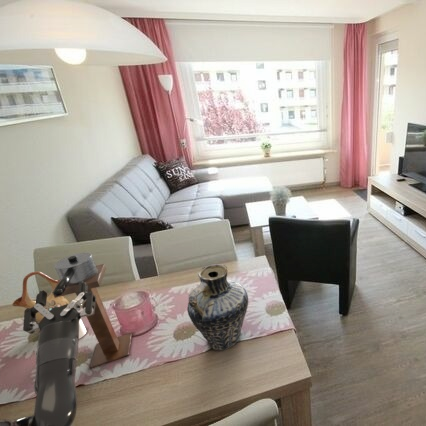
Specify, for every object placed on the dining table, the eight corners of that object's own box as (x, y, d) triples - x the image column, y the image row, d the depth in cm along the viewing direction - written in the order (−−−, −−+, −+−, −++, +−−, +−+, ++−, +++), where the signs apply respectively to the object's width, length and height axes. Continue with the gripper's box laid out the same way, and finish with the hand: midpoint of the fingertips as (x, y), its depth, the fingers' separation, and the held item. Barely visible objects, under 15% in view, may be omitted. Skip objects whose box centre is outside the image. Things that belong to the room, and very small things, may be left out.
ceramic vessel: (75, 308, 126) (51, 259, 116) (86, 314, 122) (62, 264, 112) (26, 335, 113) (-5, 282, 103) (37, 343, 109) (6, 288, 99)
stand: (91, 370, 97) (52, 292, 84) (98, 346, 106) (63, 273, 93) (129, 357, 101) (97, 281, 88) (132, 335, 110) (104, 263, 98)
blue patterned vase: (217, 317, 117) (201, 252, 105) (262, 323, 113) (251, 256, 101) (185, 361, 98) (162, 288, 87) (238, 369, 94) (221, 295, 83)
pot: (42, 313, 76) (30, 291, 73) (67, 273, 93) (58, 254, 90) (84, 302, 79) (74, 281, 76) (100, 265, 96) (93, 247, 94)
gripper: (30, 361, 71) (37, 300, 80) (99, 339, 76) (99, 285, 85) (10, 353, 65) (21, 288, 74) (87, 330, 71) (88, 272, 79)
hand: (63, 286), depth 79 cm, fingers open, 8 cm apart
